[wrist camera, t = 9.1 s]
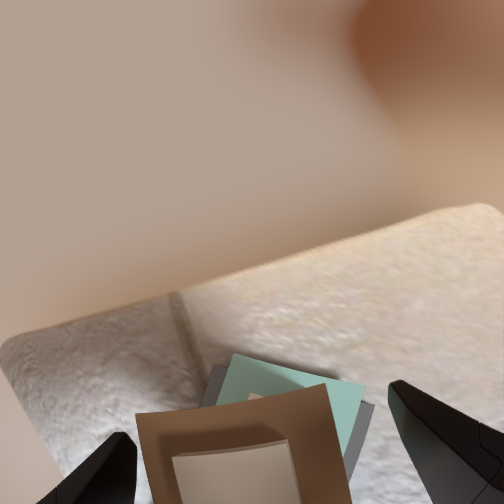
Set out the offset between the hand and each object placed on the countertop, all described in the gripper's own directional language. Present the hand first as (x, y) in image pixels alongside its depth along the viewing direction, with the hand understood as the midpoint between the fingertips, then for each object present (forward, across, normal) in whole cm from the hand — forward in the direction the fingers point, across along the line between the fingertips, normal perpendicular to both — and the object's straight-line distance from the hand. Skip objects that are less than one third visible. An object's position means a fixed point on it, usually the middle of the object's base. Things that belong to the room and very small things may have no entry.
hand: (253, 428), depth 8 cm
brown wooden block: (+5, 0, +6) cm, 8 cm away
